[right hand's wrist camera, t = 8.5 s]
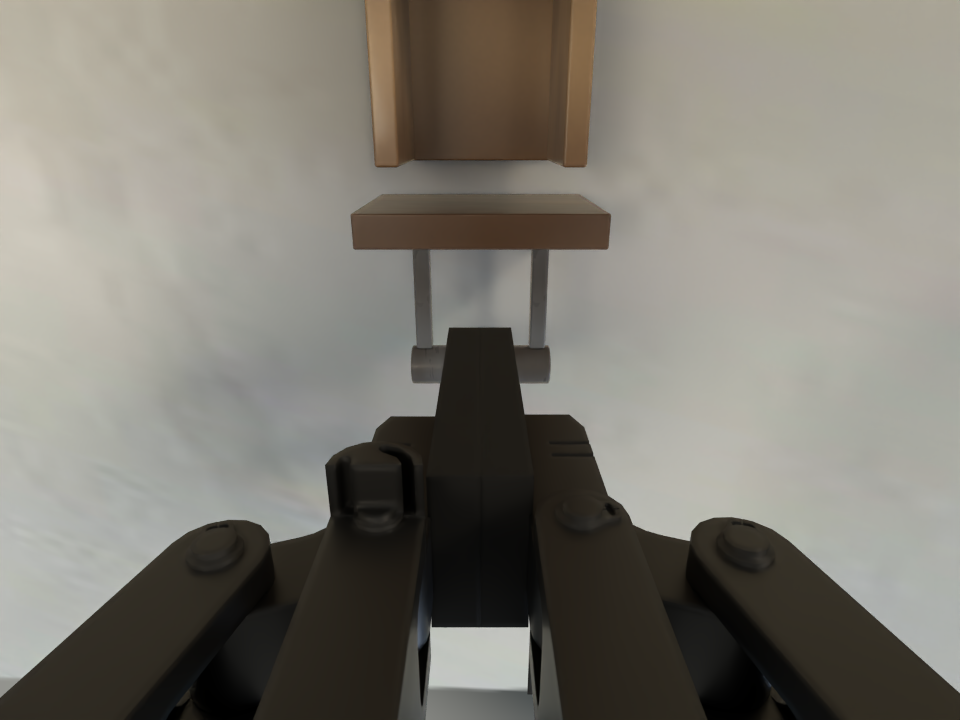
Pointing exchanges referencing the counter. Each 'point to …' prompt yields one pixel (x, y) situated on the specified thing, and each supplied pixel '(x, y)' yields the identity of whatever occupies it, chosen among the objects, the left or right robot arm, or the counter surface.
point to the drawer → (480, 140)
